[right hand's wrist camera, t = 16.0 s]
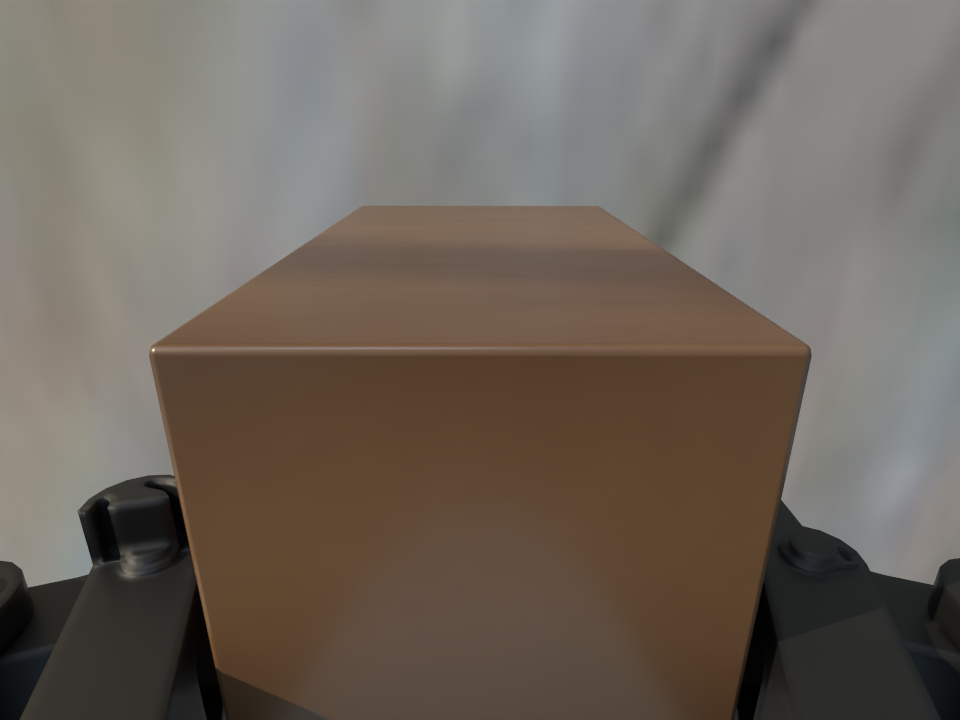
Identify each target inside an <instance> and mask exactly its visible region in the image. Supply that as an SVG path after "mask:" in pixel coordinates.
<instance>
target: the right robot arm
mask: <svg viewBox="0 0 960 720" xmlns="http://www.w3.org/2000/svg"><path fill="white" fill-rule="evenodd" d="M78 514H79V517H80V521H81V524H82V528H83V531H84V535H85V538H86V542H87V545H88V549H89V552H90V556H91V559H92V563H93V567H92V569H91V571H90V573H89V575H85V576H81V577H78V578H73V579H68V580H63V581H58V582H53V583H49V584H44V585H39V586H34V587H29V588H28V587H27V584H26V581H25V578H24V575H23V572H22V570H21V569H20V568H19V567H18V566H16V565H15V564H14V563H12V562H6V561H0V720H226V716H225V711H224V706H223V702H222V697H221V692H220V687H219V683H218V678H217V673H216V669H215V664H214V659H213V654H212V650H211V645H210V640H209V635H208V631H207V626H206V621H205V617H204V612H203V607H202V602H201V598H200V593H199V588H198V584H197V579H196V574H195V569H194V565H193V560H192V555H191V550H190V546H189V541H188V536H187V532H186V527H185V522H184V517H183V513H182V508H181V503H180V499H179V494H178V489H177V484H176V480H175V476H172V475H151V476H145V477H140V478H135V479H131V480H127V481H124V482H121V483H119V484H116V485H114V486H111V487H109V488H106V489H105V490H103V491H101V492H100V493H98V494H96V495H95V496H93V497H91V498H90V499H88V501H87V502H86V503H85V504H84V505H83V506H82V507H81V508H80V509H79V510H78ZM734 720H960V558H959V559H951V560H948V561H947V562H946V563H944V564H943V565H942V566H940V568H939V571H938V574H937V577H936V580H935V583H934V585H930V584H925V583H920V582H915V581H910V580H906V579H901V578H896V577H891V576H886V575H882V574H878V573H874V572H871V571H870V570H869V568H868V566H867V564H866V563H865V561H864V560H863V559H862V558H861V556H860V555H859V554H858V552H857V551H855V550H854V549H853V548H851V547H850V546H848V545H847V544H846V543H844V542H843V541H841V540H840V539H838V538H836V537H833V536H831V535H829V534H827V533H824V532H822V531H820V530H816V529H812V528H808V527H804V526H802V525H801V524H800V523H799V521H798V520H797V519H796V518H795V516H794V515H793V514H792V513H791V512H790V510H789V509H788V508H787V507H786V505H785V504H784V503H783V502H782V500H781V501H780V506H779V511H778V515H777V520H776V525H775V530H774V534H773V539H772V544H771V548H770V553H769V558H768V563H767V567H766V572H765V577H764V581H763V586H762V591H761V595H760V600H759V605H758V610H757V614H756V619H755V624H754V628H753V633H752V638H751V642H750V647H749V652H748V657H747V661H746V666H745V671H744V675H743V680H742V685H741V689H740V694H739V699H738V704H737V708H736V713H735V718H734Z"/></svg>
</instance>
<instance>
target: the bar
mask: <svg viewBox="0 0 960 720" xmlns="http://www.w3.org/2000/svg"><path fill="white" fill-rule="evenodd" d="M149 357H150V362H151V366H152V371H153V376H154V380H155V385H156V390H157V395H158V399H159V404H160V409H161V413H162V418H163V423H164V428H165V432H166V437H167V442H168V447H169V451H170V456H171V461H172V465H173V470H174V475H175V480H176V484H177V489H178V494H179V499H180V503H181V508H182V513H183V517H184V522H185V527H186V532H187V536H188V541H189V546H190V550H191V555H192V560H193V565H194V569H195V574H196V579H197V584H198V588H199V593H200V598H201V602H202V607H203V612H204V617H205V621H206V626H207V631H208V635H209V640H210V645H211V650H212V654H213V659H214V664H215V669H216V673H217V678H218V683H219V687H220V692H221V697H222V702H223V706H224V711H225V716H226V720H734V718H735V713H736V708H737V704H738V699H739V694H740V689H741V685H742V680H743V675H744V671H745V666H746V661H747V657H748V652H749V647H750V642H751V638H752V633H753V628H754V624H755V619H756V614H757V610H758V605H759V600H760V595H761V591H762V586H763V581H764V577H765V572H766V567H767V563H768V558H769V553H770V548H771V544H772V539H773V534H774V530H775V525H776V520H777V515H778V511H779V506H780V501H781V497H782V492H783V487H784V483H785V478H786V473H787V468H788V464H789V459H790V454H791V450H792V445H793V440H794V436H795V431H796V426H797V421H798V417H799V412H800V407H801V403H802V398H803V393H804V388H805V384H806V379H807V374H808V370H809V365H810V360H811V349H810V347H809V346H808V345H807V344H805V343H804V342H802V341H801V340H799V339H798V338H796V337H795V336H793V335H792V334H790V333H789V332H787V331H786V330H784V329H783V328H781V327H780V326H778V325H777V324H775V323H774V322H772V321H771V320H769V319H768V318H766V317H765V316H763V315H762V314H760V313H759V312H757V311H756V310H754V309H752V308H751V307H749V306H748V305H746V304H745V303H743V302H742V301H740V300H739V299H737V298H736V297H734V296H733V295H731V294H730V293H728V292H727V291H725V290H724V289H722V288H721V287H719V286H718V285H716V284H715V283H713V282H712V281H710V280H709V279H707V278H706V277H704V276H703V275H701V274H700V273H698V272H697V271H695V270H694V269H692V268H691V267H689V266H688V265H686V264H685V263H683V262H682V261H680V260H679V259H677V258H676V257H674V256H673V255H671V254H670V253H668V252H667V251H665V250H664V249H662V248H661V247H659V246H658V245H656V244H655V243H653V242H652V241H650V240H649V239H647V238H646V237H644V236H643V235H641V234H640V233H638V232H637V231H635V230H634V229H632V228H631V227H629V226H628V225H626V224H625V223H623V222H622V221H620V220H619V219H617V218H616V217H614V216H612V215H611V214H609V213H608V212H606V211H605V210H603V209H602V208H600V207H598V206H362V207H360V208H358V209H357V210H355V211H354V212H352V213H351V214H349V215H348V216H346V217H345V218H343V219H342V220H340V221H339V222H337V223H336V224H334V225H333V226H331V227H330V228H328V229H327V230H325V231H324V232H322V233H321V234H319V235H318V236H316V237H315V238H313V239H312V240H310V241H309V242H307V243H306V244H304V245H303V246H301V247H300V248H298V249H297V250H295V251H294V252H292V253H291V254H289V255H288V256H286V257H285V258H283V259H282V260H280V261H279V262H277V263H276V264H274V265H273V266H271V267H270V268H268V269H267V270H265V271H264V272H262V273H261V274H259V275H258V276H256V277H255V278H253V279H252V280H250V281H249V282H247V283H246V284H244V285H243V286H241V287H240V288H238V289H237V290H235V291H234V292H232V293H230V294H229V295H227V296H226V297H224V298H223V299H221V300H220V301H218V302H217V303H215V304H214V305H212V306H211V307H209V308H208V309H206V310H205V311H203V312H202V313H200V314H199V315H197V316H196V317H194V318H193V319H191V320H190V321H188V322H187V323H185V324H184V325H182V326H181V327H179V328H178V329H176V330H175V331H173V332H172V333H170V334H169V335H167V336H166V337H164V338H163V339H161V340H160V341H158V342H157V343H155V344H154V345H152V346H151V349H150V354H149Z"/></svg>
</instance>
